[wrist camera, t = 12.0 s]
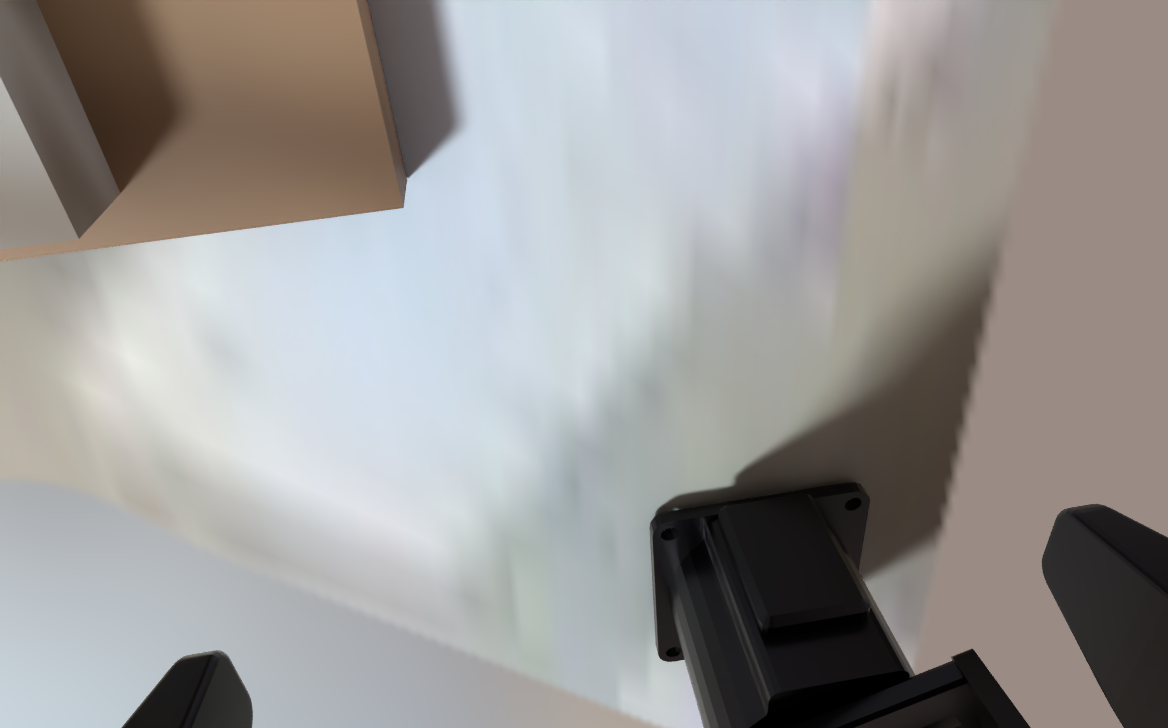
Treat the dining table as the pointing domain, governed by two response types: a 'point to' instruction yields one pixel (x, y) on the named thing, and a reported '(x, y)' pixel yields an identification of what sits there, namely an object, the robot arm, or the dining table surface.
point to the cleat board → (187, 119)
